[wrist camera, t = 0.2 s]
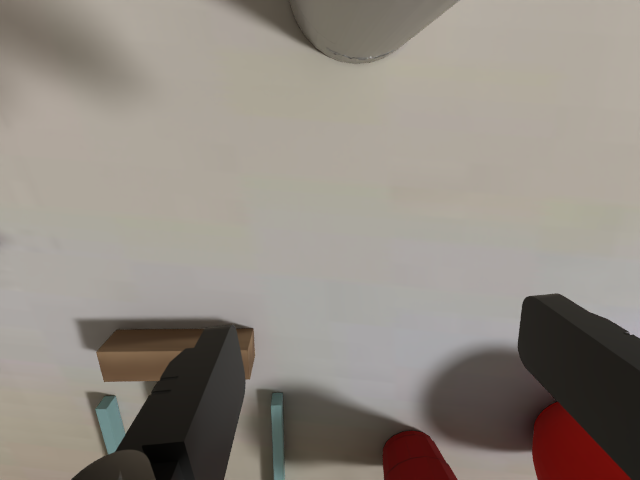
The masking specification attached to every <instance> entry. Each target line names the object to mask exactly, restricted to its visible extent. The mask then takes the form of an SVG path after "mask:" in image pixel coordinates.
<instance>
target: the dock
mask: <svg viewBox="0 0 640 480" xmlns="http://www.w3.org/2000/svg"><path fill="white" fill-rule="evenodd" d="M95 410H96V413H97V417H98V420H99V424H100V427H101V431H102V434H103V438H104V441H105V445H106V448H107V452H108V454H111V453H114V452H115V451H116V449H117V448H118V446H119V444H120V443H121V441H122V439H123V438H124V436H125V431H124V427H123V423H122V419H121V416H120V412H119V408H118V404H117V400H116V396H105V397H104V398H103V399H102V401H101V402H100V403H99V405H98V406H97V408H96V409H95ZM271 418H272V443H273V467H274V480H285V467H284V426H283V393H272V401H271Z"/></svg>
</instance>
